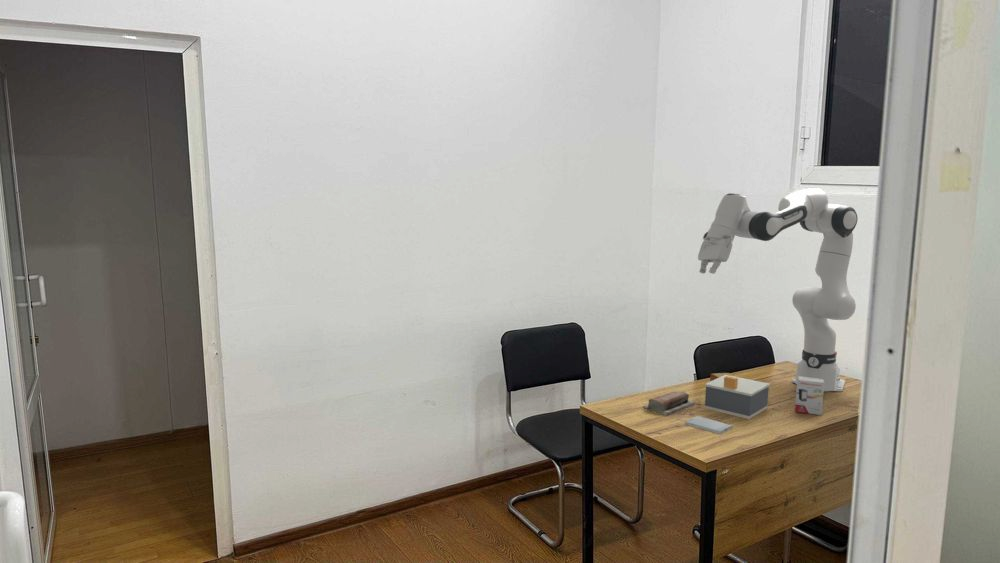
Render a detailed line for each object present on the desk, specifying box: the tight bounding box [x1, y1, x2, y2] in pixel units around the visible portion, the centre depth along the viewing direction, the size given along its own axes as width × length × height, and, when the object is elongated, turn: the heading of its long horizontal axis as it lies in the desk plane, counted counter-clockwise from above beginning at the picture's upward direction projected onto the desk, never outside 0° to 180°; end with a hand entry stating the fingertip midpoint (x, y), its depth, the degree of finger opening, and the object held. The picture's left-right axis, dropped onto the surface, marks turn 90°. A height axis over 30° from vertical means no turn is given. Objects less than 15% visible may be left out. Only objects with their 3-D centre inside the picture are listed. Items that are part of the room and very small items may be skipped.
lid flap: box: [704, 375, 771, 396], centre depth 239 cm, size 17×17×4 cm
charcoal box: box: [704, 386, 770, 420], centre depth 240 cm, size 16×16×8 cm
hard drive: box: [684, 415, 733, 435], centre depth 222 cm, size 2×8×12 cm
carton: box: [709, 372, 736, 382], centre depth 264 cm, size 8×16×4 cm, turn 12°
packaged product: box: [642, 391, 696, 416], centre depth 241 cm, size 18×5×10 cm
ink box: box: [794, 376, 825, 416], centre depth 236 cm, size 9×5×12 cm, turn 67°
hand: (706, 273), depth 239 cm, fingers open, 8 cm apart
